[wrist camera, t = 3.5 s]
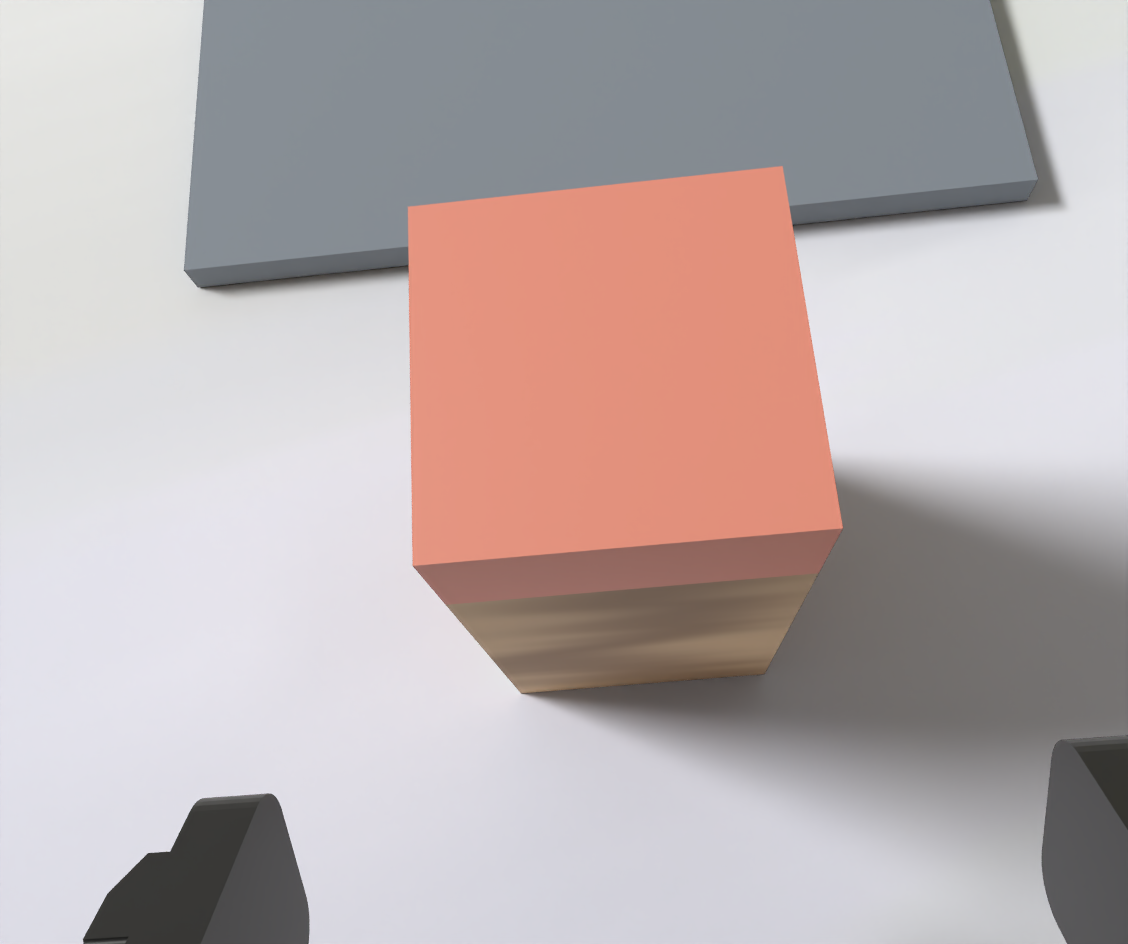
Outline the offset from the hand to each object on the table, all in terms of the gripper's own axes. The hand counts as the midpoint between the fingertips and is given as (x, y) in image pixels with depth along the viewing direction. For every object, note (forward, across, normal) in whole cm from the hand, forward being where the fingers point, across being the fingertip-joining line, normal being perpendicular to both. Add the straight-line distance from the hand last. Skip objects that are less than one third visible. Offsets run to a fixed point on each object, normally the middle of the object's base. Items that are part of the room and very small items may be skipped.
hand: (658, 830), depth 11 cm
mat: (+22, 0, -8) cm, 23 cm away
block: (+11, 0, +3) cm, 12 cm away
